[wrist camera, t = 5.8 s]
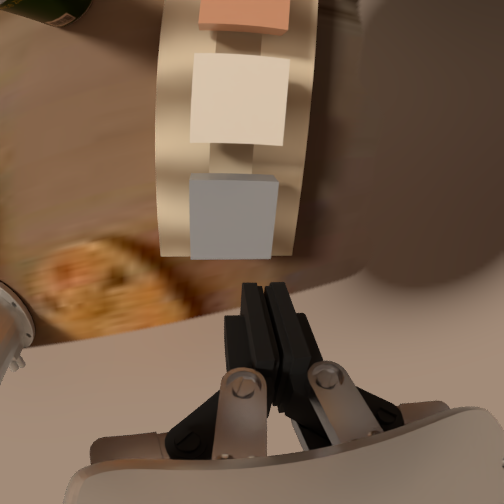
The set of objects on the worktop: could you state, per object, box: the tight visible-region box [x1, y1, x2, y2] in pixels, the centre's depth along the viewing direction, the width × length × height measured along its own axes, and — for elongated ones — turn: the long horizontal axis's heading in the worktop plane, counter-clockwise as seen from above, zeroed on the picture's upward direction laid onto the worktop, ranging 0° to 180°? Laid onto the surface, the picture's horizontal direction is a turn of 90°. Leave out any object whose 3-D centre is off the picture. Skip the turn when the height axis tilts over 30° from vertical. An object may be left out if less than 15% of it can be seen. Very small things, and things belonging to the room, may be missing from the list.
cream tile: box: [190, 53, 290, 146], centre depth 18 cm, size 6×6×4 cm
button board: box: [155, 0, 318, 256], centre depth 21 cm, size 27×12×3 cm, turn 176°
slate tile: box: [189, 173, 279, 260], centre depth 22 cm, size 6×6×4 cm
